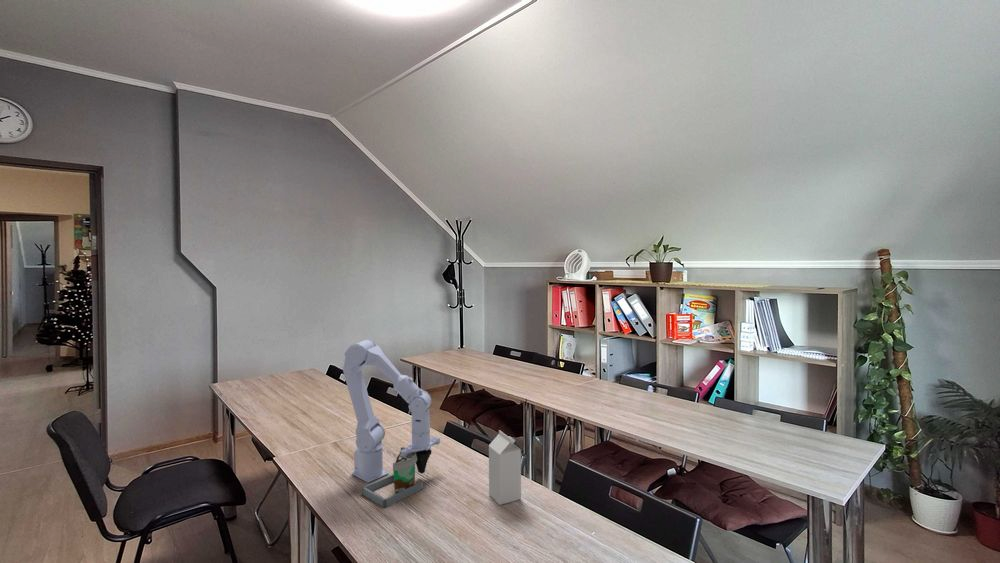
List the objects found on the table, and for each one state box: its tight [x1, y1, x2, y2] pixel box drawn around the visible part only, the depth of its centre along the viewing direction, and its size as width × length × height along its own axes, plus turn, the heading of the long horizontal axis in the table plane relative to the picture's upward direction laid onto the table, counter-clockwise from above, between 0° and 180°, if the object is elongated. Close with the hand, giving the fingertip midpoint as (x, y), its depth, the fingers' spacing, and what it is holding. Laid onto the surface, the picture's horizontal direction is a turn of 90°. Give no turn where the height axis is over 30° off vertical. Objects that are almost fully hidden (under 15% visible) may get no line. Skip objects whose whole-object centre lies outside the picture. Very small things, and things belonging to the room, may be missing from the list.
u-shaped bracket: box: [361, 473, 423, 508], centre depth 139 cm, size 12×14×2 cm
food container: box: [392, 446, 417, 494], centre depth 141 cm, size 12×6×10 cm, turn 1°
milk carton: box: [488, 429, 522, 506], centre depth 135 cm, size 7×7×19 cm
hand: (421, 472), depth 147 cm, fingers closed
